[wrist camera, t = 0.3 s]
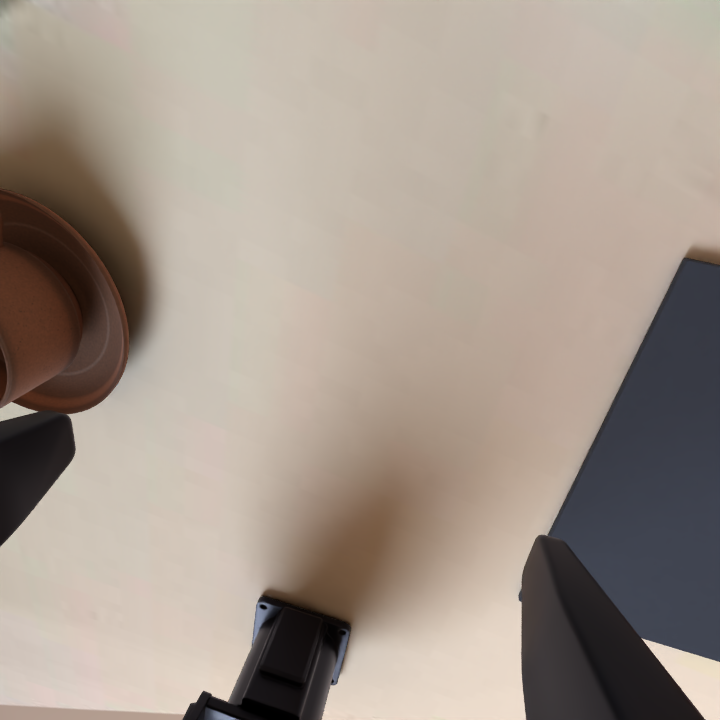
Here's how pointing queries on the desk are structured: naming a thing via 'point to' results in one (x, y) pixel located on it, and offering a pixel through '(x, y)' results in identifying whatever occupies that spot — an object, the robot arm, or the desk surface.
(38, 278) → the cup and saucer
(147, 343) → the desk surface
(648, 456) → the felt mat
